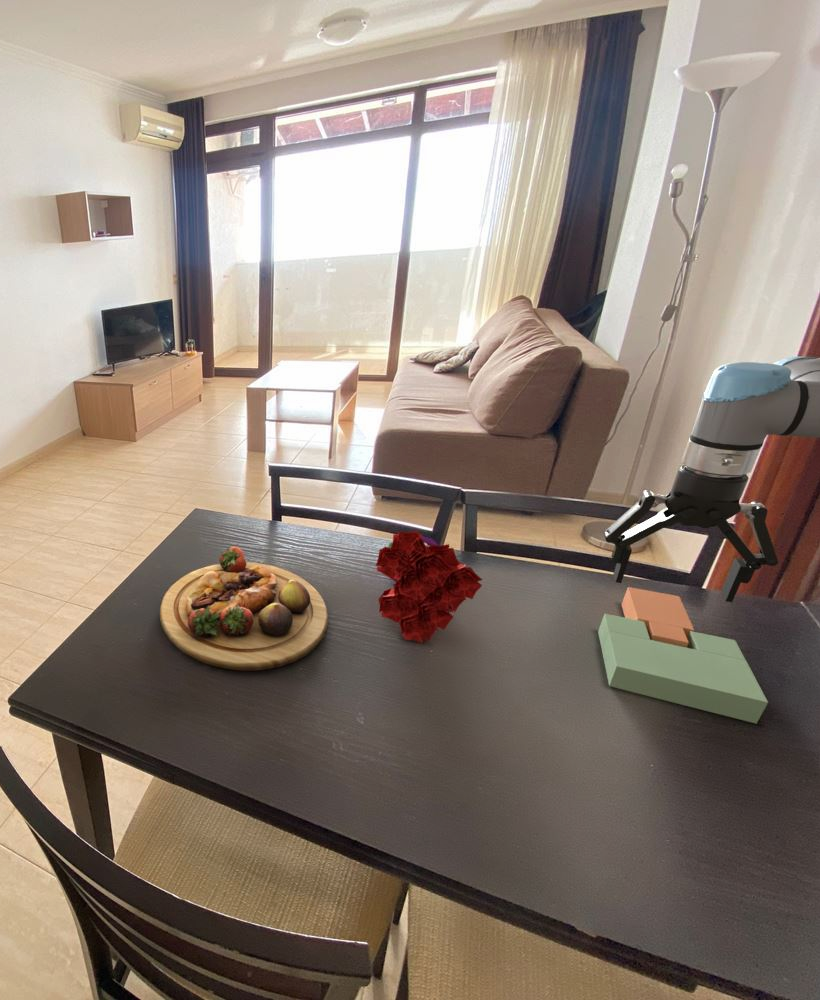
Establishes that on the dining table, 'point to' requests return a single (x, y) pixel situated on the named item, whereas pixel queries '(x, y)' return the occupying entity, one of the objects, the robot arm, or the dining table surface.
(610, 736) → the dining table surface
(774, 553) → the robot arm
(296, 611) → the wooden plate
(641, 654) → the green pad
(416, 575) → the bouquet
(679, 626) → the peach pad
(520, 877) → the dining table surface
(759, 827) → the dining table surface
